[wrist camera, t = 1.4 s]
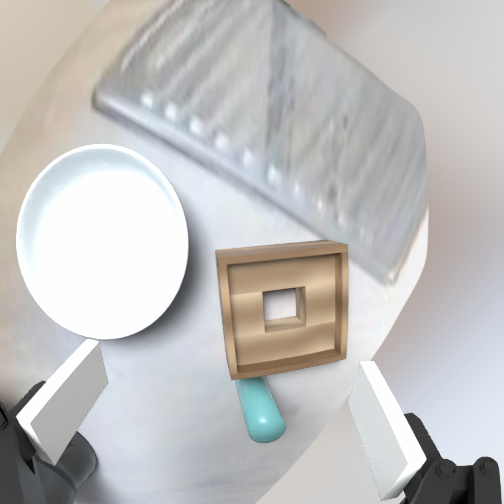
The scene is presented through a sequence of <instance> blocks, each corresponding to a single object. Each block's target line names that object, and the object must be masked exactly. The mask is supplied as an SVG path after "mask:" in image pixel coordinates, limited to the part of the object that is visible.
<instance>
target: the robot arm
mask: <svg viewBox="0 0 504 504" xmlns="http://www.w3.org/2000/svg"><path fill="white" fill-rule="evenodd" d="M107 384H108V379H107V375H106V370H105V366H104V362H103V357H102V352H101V347H100V342H99V341H95V340H90V339H87V340H86V341H85V342H84V343H83V344H82V345H81V346H80V347H79V348H78V349H77V350H76V351H75V352H74V353H73V354H72V355H71V356H70V358H69V359H68V360H67V361H66V362H65V363H64V364H63V365H62V366H61V367H60V368H59V369H58V370H57V371H56V372H55V374H54V375H53V376H52V377H51V378H50V379H49V380H48V381H47V382H45V381H41V382H39V383H37V384H36V385H34V386H33V387H32V388H31V389H30V390H29V393H27V394H26V395H25V396H24V398H22V399H21V400H20V401H19V402H18V404H17V405H16V406H15V407H14V408H13V409H12V410H11V411H10V412H9V414H8V412H7V410H6V408H5V406H4V404H3V403H2V402H1V401H0V504H73V501H74V498H75V495H76V491H77V489H78V488H79V487H80V486H81V485H82V483H83V482H84V481H85V480H86V479H87V478H88V477H89V476H91V474H92V473H93V471H94V468H95V465H96V456H95V453H94V451H93V449H92V447H91V446H90V444H89V443H88V442H87V441H86V440H85V439H84V438H83V437H82V436H81V435H80V434H79V433H78V432H77V429H78V428H79V426H80V425H81V423H82V422H83V420H84V419H85V417H86V416H87V414H88V412H89V411H90V409H91V408H92V406H93V405H94V403H95V402H96V400H97V399H98V397H99V396H100V394H101V393H102V391H103V390H104V388H105V387H106V385H107ZM348 404H349V407H350V410H351V413H352V416H353V419H354V422H355V424H356V427H357V430H358V433H359V436H360V439H361V442H362V444H363V448H364V450H365V454H366V456H367V459H368V462H369V465H370V469H371V472H372V475H373V478H374V481H375V484H376V487H377V490H378V494H379V497H380V500H381V501H383V500H388V499H392V498H396V497H398V496H399V495H400V493H401V492H402V491H403V490H404V493H405V495H406V497H405V498H404V499H403V500H402V501H401V503H400V504H502V503H501V485H500V474H499V467H498V464H497V462H496V461H495V460H494V459H492V458H490V457H481V458H479V459H477V461H476V462H475V463H474V464H473V465H468V466H456V464H455V463H454V462H452V461H450V460H448V459H443V458H442V457H441V455H440V453H439V451H438V450H437V448H436V446H435V444H434V443H433V441H432V439H431V437H430V435H428V432H427V430H426V429H425V427H424V425H423V423H422V421H421V420H420V419H419V418H418V417H417V416H416V415H414V414H413V413H408V414H403V413H402V411H401V409H400V407H399V405H398V403H397V402H396V400H395V398H394V396H393V394H392V393H391V391H390V389H389V387H388V385H387V384H386V382H385V380H384V379H383V377H382V375H381V373H380V371H379V370H378V368H377V366H376V364H375V363H374V361H371V362H360V364H359V367H358V371H357V374H356V378H355V381H354V384H353V388H352V391H351V394H350V397H349V400H348Z"/></svg>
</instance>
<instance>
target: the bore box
mask: <svg viewBox="0 0 504 504" xmlns="http://www.w3.org/2000/svg"><path fill="white" fill-rule="evenodd" d="M215 255H216V266H217V276H218V286H219V296H220V305H221V315H222V324H223V332H224V341H225V349H226V358H227V362H228V367H229V371H230V376H231V380H238V379H245V378H252V377H259V376H265V375H271V374H277V373H282V372H288V371H293V370H298V369H303V368H308V367H313V366H318V365H322V364H327V363H331V362H335V361H339V360H343V359H346V351H347V330H348V245H347V244H343V243H339V242H334V241H330V240H319V241H308V242H297V243H286V244H275V245H265V246H254V247H244V248H233V249H222V250H215ZM287 288H295V291H296V316H294V317H287V318H281V319H274V320H267V321H264V311H263V296H262V292H263V291H271V290H279V289H287Z"/></svg>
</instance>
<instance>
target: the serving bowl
mask: <svg viewBox="0 0 504 504" xmlns="http://www.w3.org/2000/svg"><path fill="white" fill-rule="evenodd" d="M16 242H17V255H18V260H19V265H20V269H21V272H22V275H23V278H24V280H25V283H26V285H27V287H28V289H29V291H30V293H31V294H32V296H33V298H34V299H35V300H36V302H37V303H38V305H39V306H40V307H41V308H42V309H43V311H44V312H45V313H46V314H47V315H48V316H49V317H50V318H52V319H53V320H54V321H55V322H57V323H58V324H59V325H61V326H63V327H64V328H66V329H68V330H70V331H72V332H74V333H76V334H79V335H82V336H85V337H90V338H95V339H117V338H122V337H126V336H130V335H132V334H135V333H137V332H139V331H141V330H143V329H145V328H147V327H148V326H149V325H151V324H152V323H153V322H155V321H156V320H157V319H158V318H159V317H160V316H161V315H162V314H163V313H164V312H165V311H166V310H167V308H168V307H169V306H170V304H171V303H172V301H173V300H174V298H175V296H176V295H177V293H178V291H179V289H180V286H181V284H182V281H183V278H184V275H185V271H186V266H187V261H188V251H189V239H188V228H187V222H186V218H185V214H184V211H183V207H182V205H181V202H180V200H179V197H178V195H177V193H176V192H175V190H174V188H173V186H172V185H171V183H170V182H169V180H168V179H167V178H166V177H165V175H164V174H163V173H162V172H161V171H160V170H159V169H158V168H157V167H156V166H155V165H154V164H153V163H152V162H150V161H149V160H148V159H146V158H145V157H143V156H142V155H140V154H138V153H136V152H134V151H132V150H130V149H127V148H124V147H120V146H115V145H108V144H95V145H88V146H84V147H80V148H77V149H74V150H72V151H69V152H67V153H65V154H64V155H62V156H60V157H59V158H57V159H56V160H54V161H53V162H52V163H51V164H49V165H48V166H47V167H46V168H45V169H44V170H43V171H42V172H41V174H40V175H39V176H38V177H37V178H36V180H35V181H34V183H33V184H32V186H31V187H30V189H29V191H28V193H27V195H26V197H25V199H24V202H23V205H22V207H21V211H20V214H19V219H18V225H17V237H16Z"/></svg>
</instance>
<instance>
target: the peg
mask: <svg viewBox="0 0 504 504" xmlns="http://www.w3.org/2000/svg"><path fill="white" fill-rule="evenodd" d="M235 381H236V385H237V390H238V394H239V398H240V401H241V405H242V409H243V413H244V417H245V421H246V425H247V428H248V432H249V436H250V438H251V439H252V440H254V441H255V442H258V443H269V442H272V441H275V440H277V439H278V438H280V437H281V436H282V435H283V433H284V432H285V424H284V421H283V419H282V417H281V414H280V412H279V410H278V408H277V405H276V403H275V401H274V398H273V396H272V394H271V391H270V389H269V387H268V384H267V382H266V380H265V377H264V376H259V377H252V378H245V379H238V380H235Z"/></svg>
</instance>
